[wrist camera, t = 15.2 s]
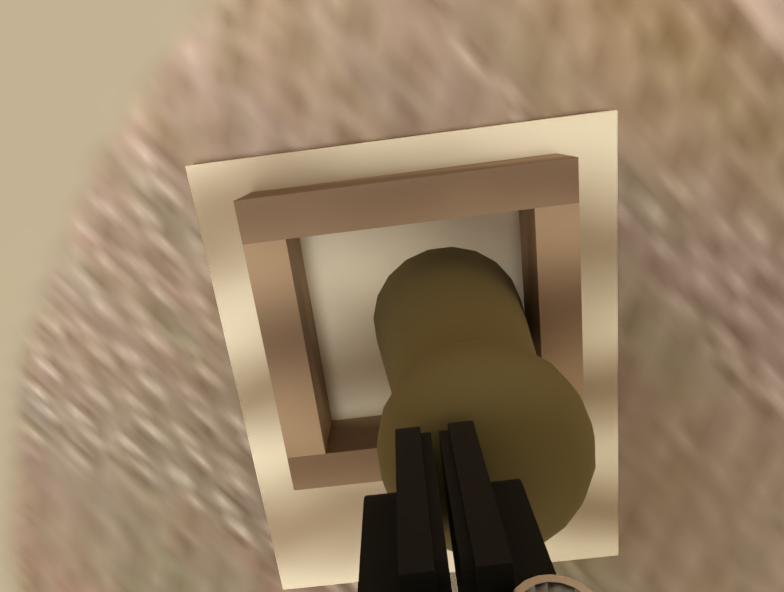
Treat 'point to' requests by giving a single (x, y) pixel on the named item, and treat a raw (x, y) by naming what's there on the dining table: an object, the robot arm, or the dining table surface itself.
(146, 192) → the dining table surface
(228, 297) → the socket stand
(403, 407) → the cork
